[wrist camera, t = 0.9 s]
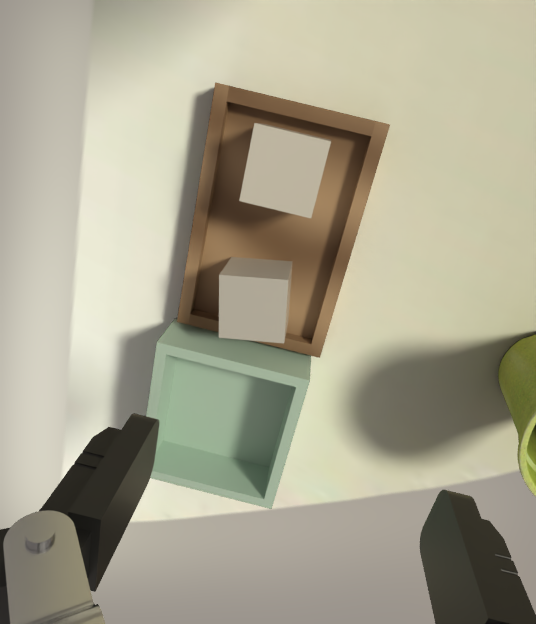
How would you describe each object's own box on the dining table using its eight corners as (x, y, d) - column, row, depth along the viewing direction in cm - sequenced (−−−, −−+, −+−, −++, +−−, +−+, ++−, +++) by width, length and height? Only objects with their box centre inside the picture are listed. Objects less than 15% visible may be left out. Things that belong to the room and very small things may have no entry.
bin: (175, 318, 33) (156, 342, 30) (311, 352, 33) (309, 380, 29) (155, 440, 38) (137, 474, 34) (276, 471, 37) (271, 509, 34)
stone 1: (263, 123, 27) (254, 122, 24) (329, 139, 27) (331, 141, 24) (249, 191, 29) (239, 201, 25) (312, 206, 29) (311, 218, 25)
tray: (220, 84, 27) (215, 82, 26) (386, 124, 27) (389, 124, 26) (182, 313, 33) (176, 321, 32) (319, 347, 33) (319, 357, 32)
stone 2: (231, 256, 31) (219, 274, 27) (292, 261, 30) (288, 280, 27) (230, 313, 32) (218, 337, 28) (288, 318, 32) (284, 343, 28)
